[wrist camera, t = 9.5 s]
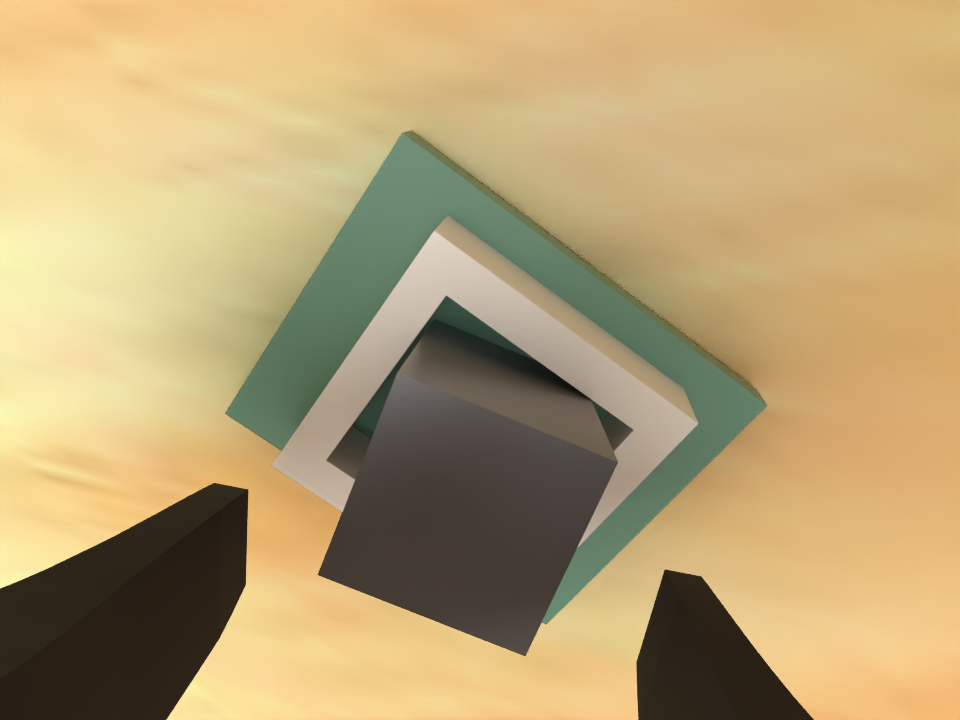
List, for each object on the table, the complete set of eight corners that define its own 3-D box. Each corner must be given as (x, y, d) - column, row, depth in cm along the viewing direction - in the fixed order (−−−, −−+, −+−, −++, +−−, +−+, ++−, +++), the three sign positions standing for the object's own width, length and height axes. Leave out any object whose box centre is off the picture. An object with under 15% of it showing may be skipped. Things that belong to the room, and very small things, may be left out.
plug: (581, 379, 18) (618, 462, 12) (497, 566, 19) (491, 726, 13) (434, 319, 17) (397, 372, 12) (358, 511, 19) (288, 648, 13)
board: (756, 389, 18) (767, 405, 17) (546, 601, 21) (545, 624, 20) (410, 130, 17) (402, 132, 16) (240, 398, 20) (224, 413, 19)
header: (683, 388, 17) (698, 423, 16) (512, 570, 20) (507, 619, 18) (448, 215, 16) (434, 230, 15) (299, 429, 19) (271, 465, 17)
